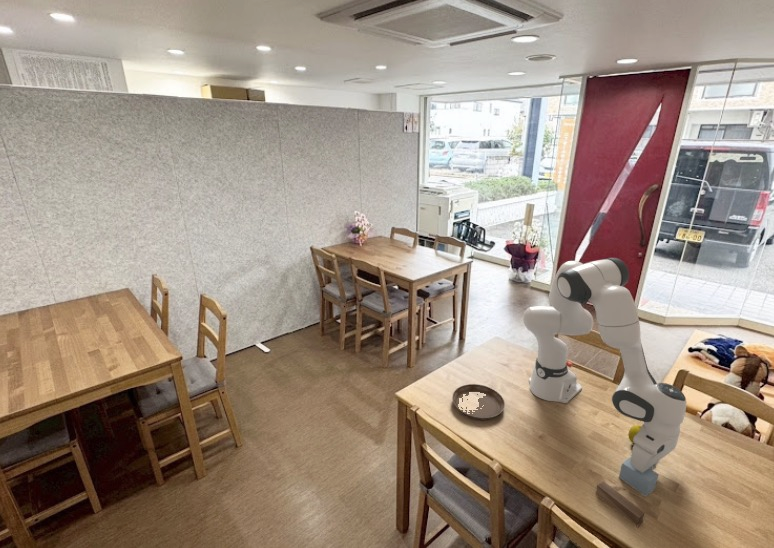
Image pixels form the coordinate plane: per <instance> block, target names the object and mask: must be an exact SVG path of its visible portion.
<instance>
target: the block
mask: <svg viewBox="0 0 774 548" xmlns="http://www.w3.org/2000/svg"><path fill="white" fill-rule="evenodd" d="M630 460H631V456H630V457H629V458H628V459H627V458H626V460H624V461H623V462H622V463H621V467H620V470H619V475H618V478H619V480H620V479H621V480H622V481H623V482H624V483H626V484H627V485H629V486H630V487H631V488H633V489H634V490H635V491H637V492H639V494H641V495H643V496H644V497H647V496H648V495H650V494H651V493H652V492H653V491H655V490H656V486H657V481H658V479H659V475H660V474H659V473H658V472H656V471H654V470H651V469H650V468H649V469H647V470H646V471H645V472H643V473H641V472H640V471H638V470H636V469H635V468H634V467H632V466H631V464H630Z"/></svg>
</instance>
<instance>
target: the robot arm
mask: <svg viewBox="0 0 774 548" xmlns="http://www.w3.org/2000/svg"><path fill="white" fill-rule="evenodd" d="M629 279H630V271H629V268H628V265H626V263H625V262H624V261H623V260H621V259H620V258H618V257H608V258H607V257H606V258H602V259H597V260H593V261H588V262H585V263H582V262H580V261H577V260H569V261H565V262H564V263H562V264H561V265H560V267H559V268H558V270H557V272H556V274H555V276H554V279H553V281H552V283H551V287H550V291H549V295H548V301H549V303H550V305H535V306H534V305H533V306H529V307H527V309H526V310H524V314H523V317H522V319H523V320H522V321H523V324H524V326H525V328H526V329H527V330H528V331H529V332H531V333H532V334H533V335H534V337H535V339H536V341H537V347H538V350H537V357H536V360H535V363H534V364H535V365H534V366H533V369H532V373H531V376H530V377H529V378H528V382H529V391H530V392H531V393H532V394H533V395H534V396H535V397H537V398H540V399H542V400H544V401H549V402H559V403H562V404H568V403H569V402H570V401H571V400H572V399H573V398H574V397H575V396H576V395H577V394H578V393H580V391H582V389H583V388H582V385H581V384H580V383H579V382H578V381H577V376H576V374H575V373H574V372H572V371H571V370H570V369H568V368H572V367H573V363H572V362H570V361H568V354H569V348H568V346H567V344H566V343H565V342H564V341H563V340H561V339H560V338H558V337H555V335H562V336H563V335H565V336H581V335H583V336H584V335H588V334H590V332H591V331H592V329H593V327H594V317H593V315H592V314H591V312H589V310H588V309H585V308H584V307H583V305H587V303H588V302H589V303H591V304H592V306H593V307H594V309H595V311H594V312H595V315H596V317H595V318H596V322H597V323H596V324H597V328H598V332H599V335H600V337H601V340H602V342H603V343H604V344H606V345H607V346H609V347H611V348H613V349H617V350H619V351H620V356H621V358H622V363H623V367H624V374H623V376H622V379H621V381H620V383H619V384H618V386H617V387H616V389H615V391H614V392H613V394H612V395H611V396H612V397H611V402H612V406H614V408H615V410H616V411H618V413H620V414H621V415H623V416H625V417H627V418H630V419H634V420H637V421H640V422H643V424H642V425H641V426H642V427H641V429H640V431H639V432H638V433H637V434H636V435H635V437H634V439H633V442H634V443H635V444H634V445H633V447H632V449H631V450H632V451H631V454H630V457H631V460H630V464H631V466H632V467H634V468H635V469H636V470H638V471H640V472H641V473H643V472H645V471H646V470H647V469H649V468H650V469H651V470H653V471H654V470H655V469H656V468H657V466H658V463H660V461H661V460H662V459H663V458H665V457H666V456H667V455H669V454H670V453H671V452H672V451H674V450H675V449H676V447H677V446H678V440H679V436H680V433H681V427H680V426H681V424H682V423H683V422H684V421H685V420H684V419H685V416H686V410H687V399H686V396H685V394H684V392H683V391H681V390H680V389H679V388H678V387H676V386H675V385H672V384H671V383H666V382H659V383H657V380H656V379H655V378H654V376H653V375H652V373H651V372H650V370H649V368H648V364H647V361H646V355H645V353H644V348H643V345H642V338H641V337H642V336H641V323H640V320H639V319H640V318H639V314H638V310H637V306H636V303H635V300H634V298H633V296H632V294H631V292H630V290H629V289H628V288H626V287H625V286H626V284H628V283H629Z"/></svg>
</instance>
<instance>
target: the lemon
mask: <svg viewBox="0 0 774 548" xmlns="http://www.w3.org/2000/svg"><path fill="white" fill-rule="evenodd" d="M641 427H642V425H639V424H634V425H633V426H631V427H630V428H629V430H628V435H627V436H628V439H629V441H630V442H631V443H632V445H633V444H634V445H635V443H634V442H633V439H634V437H635V435H636V434H637V433H638V432H639V431H640V429H641Z"/></svg>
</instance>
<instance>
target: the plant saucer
mask: <svg viewBox="0 0 774 548" xmlns="http://www.w3.org/2000/svg"><path fill="white" fill-rule="evenodd" d="M469 392H480V393H484V394H486V396H483V398H479V399H478V402H479V407H477V408H476V409H478V410H473V411H475V412H472V410H469V411H470V412H468V413H470V414H467V410H465V411H466V412H463V410H460V409H459V407H458V404H459V398H462V397H463V394H466V395H465V396H468V395H469ZM477 395H478V394H477ZM467 400H468V399H467ZM452 402H453V404H454V406H455V408H457V410H458V411H460V413H461V414H462V415H465V416H467V417H468V418H471V419H474V420H479V419H480V420H481V421H483V420H484V421H485V420H491V419H494V418H496V417H497V416H499V415H500V414H502V412H503V411H504V410H505V406H506V405H505V399H504V398H503V396H502V395H501V394H500V393H499V392H498V390H495V389H493V388H492V387H489V386H487V385H482V384H478V383H477V384H475V383H469V384H463V385H461V386H459V387H458V388H456V389H454V391H453V394H452ZM462 402H463V398H462ZM483 405H484V406H483ZM482 406H483V407H482ZM461 408H462V407H461ZM480 408H482V409H480ZM462 409H463V408H462ZM466 409H467V407H466ZM472 413H473V414H472Z"/></svg>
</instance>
